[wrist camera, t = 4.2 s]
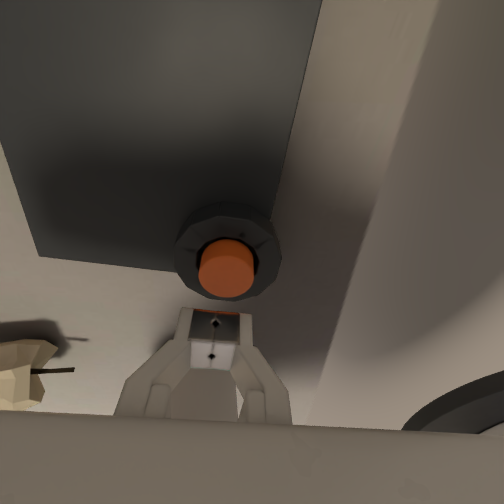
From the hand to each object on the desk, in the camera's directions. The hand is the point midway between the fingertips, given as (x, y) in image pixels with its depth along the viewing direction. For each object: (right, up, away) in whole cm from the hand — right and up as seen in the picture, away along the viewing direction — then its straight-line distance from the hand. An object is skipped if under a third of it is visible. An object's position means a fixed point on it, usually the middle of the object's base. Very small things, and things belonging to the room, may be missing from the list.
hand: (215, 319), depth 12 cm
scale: (-3, +9, +2) cm, 9 cm away
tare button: (0, +3, +3) cm, 4 cm away
